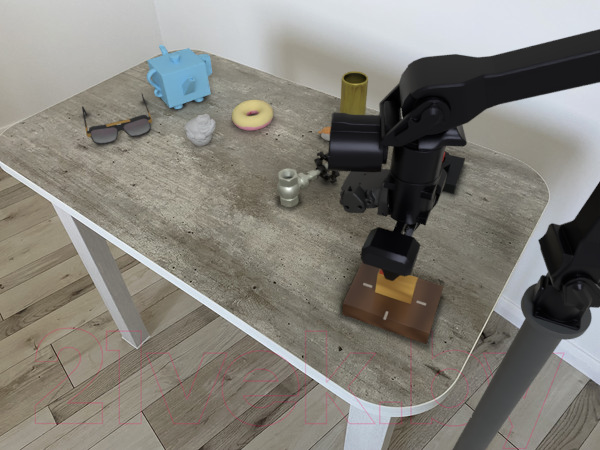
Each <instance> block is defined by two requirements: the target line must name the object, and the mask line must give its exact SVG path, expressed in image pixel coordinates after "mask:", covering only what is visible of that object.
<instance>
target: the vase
mask: <svg viewBox="0 0 600 450" xmlns="http://www.w3.org/2000/svg"><path fill="white" fill-rule="evenodd" d="M340 81H341V85H340V87H341V88H340V103H339V113H347V114H352V115H366V112H367V111H366V110H367V100H368V99H367V97H368V85H369V76H368V75H367V74H366V73H364V72H363V71H357V70H355V71H354V70H353V71H347V72H345V73H343V75H342V77H341V80H340Z"/></svg>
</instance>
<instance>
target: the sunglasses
mask: <svg viewBox="0 0 600 450" xmlns="http://www.w3.org/2000/svg"><path fill="white" fill-rule="evenodd" d="M141 97H142V101H143V103H144V105H145V109H146V112H147V114H148V116H147V115H146V114H141V115H138V116H134V117H132V118H131V117H130V118H127V119H123V120H119V121H118V120H117V121H114V122H110V123H106V124H98V125H92V126H90V127H88V124H87V120H86V116H88V114H87V111H86V109H85V107H84V105H83V106H81V111H82V116H83V122H84V123H83V124H84V127H85V134H86V137H87V138H91V140H92V142H93V143H94V144H97V145H107V144H111V143H113V142H116V141H117V140H118V135H119V132H121V131H122V132H124V133H126V134H127V135H128V136H129V137H133V138H135V137H140V136H144V135H146V134H149V132H150V131H151V130H152V126H151V124H152V123H153V119H152V116H151V114H150V111H149V108H148V105H147V102H146V100H145V99H146V98H145V97H144V94H143V93H141Z"/></svg>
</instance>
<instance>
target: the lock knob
mask: <svg viewBox="0 0 600 450" xmlns="http://www.w3.org/2000/svg"><path fill="white" fill-rule="evenodd" d="M418 278H419V277H417V276H414V275H412V274H411V275H408V276H405V277H404V276H401V275H400V276H399V277H398V278H396V279H395V280H394V281H390V280H387V279H385V277H384V274H383V271H382V269H379V272H378V275H377V282H376V289H375V292H376V293H379V294H382V295H385V296H388V297H391V298H394V299H397V300H400V301H403V302H406V303H409V304H411V301H412V299H413V295H414V291H415V287H416V283H417V279H418Z"/></svg>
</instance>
